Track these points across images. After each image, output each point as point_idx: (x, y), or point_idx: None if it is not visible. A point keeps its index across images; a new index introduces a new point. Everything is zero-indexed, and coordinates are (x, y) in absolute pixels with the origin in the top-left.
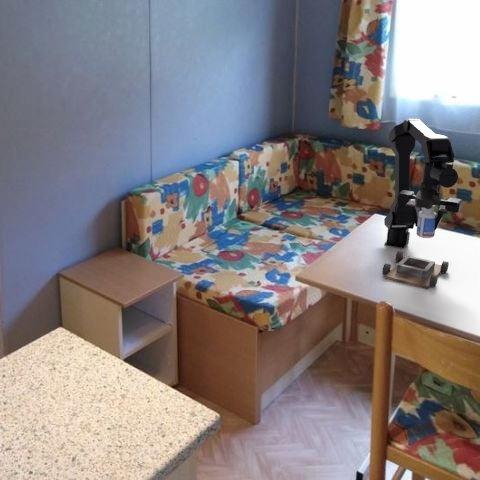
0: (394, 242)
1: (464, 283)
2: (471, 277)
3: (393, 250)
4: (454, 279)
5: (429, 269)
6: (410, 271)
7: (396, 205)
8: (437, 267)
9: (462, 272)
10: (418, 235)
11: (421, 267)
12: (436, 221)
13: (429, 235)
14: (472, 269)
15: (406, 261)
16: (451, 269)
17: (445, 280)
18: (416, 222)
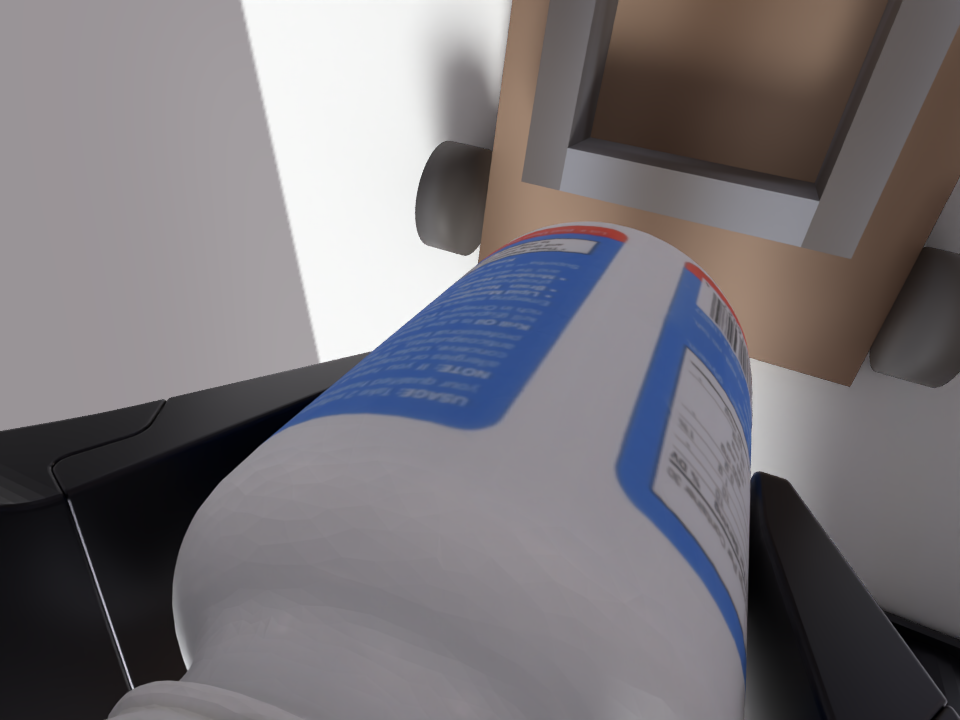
0: (936, 667)
1: (313, 26)
2: (301, 177)
3: (943, 560)
4: (388, 76)
5: None
6: None
7: None
8: (524, 223)
9: (366, 248)
10: (710, 279)
11: (666, 154)
12: (245, 410)
13: (499, 251)
14: (326, 322)
15: (862, 89)
16: (438, 278)
17: (446, 11)
18: (779, 526)
